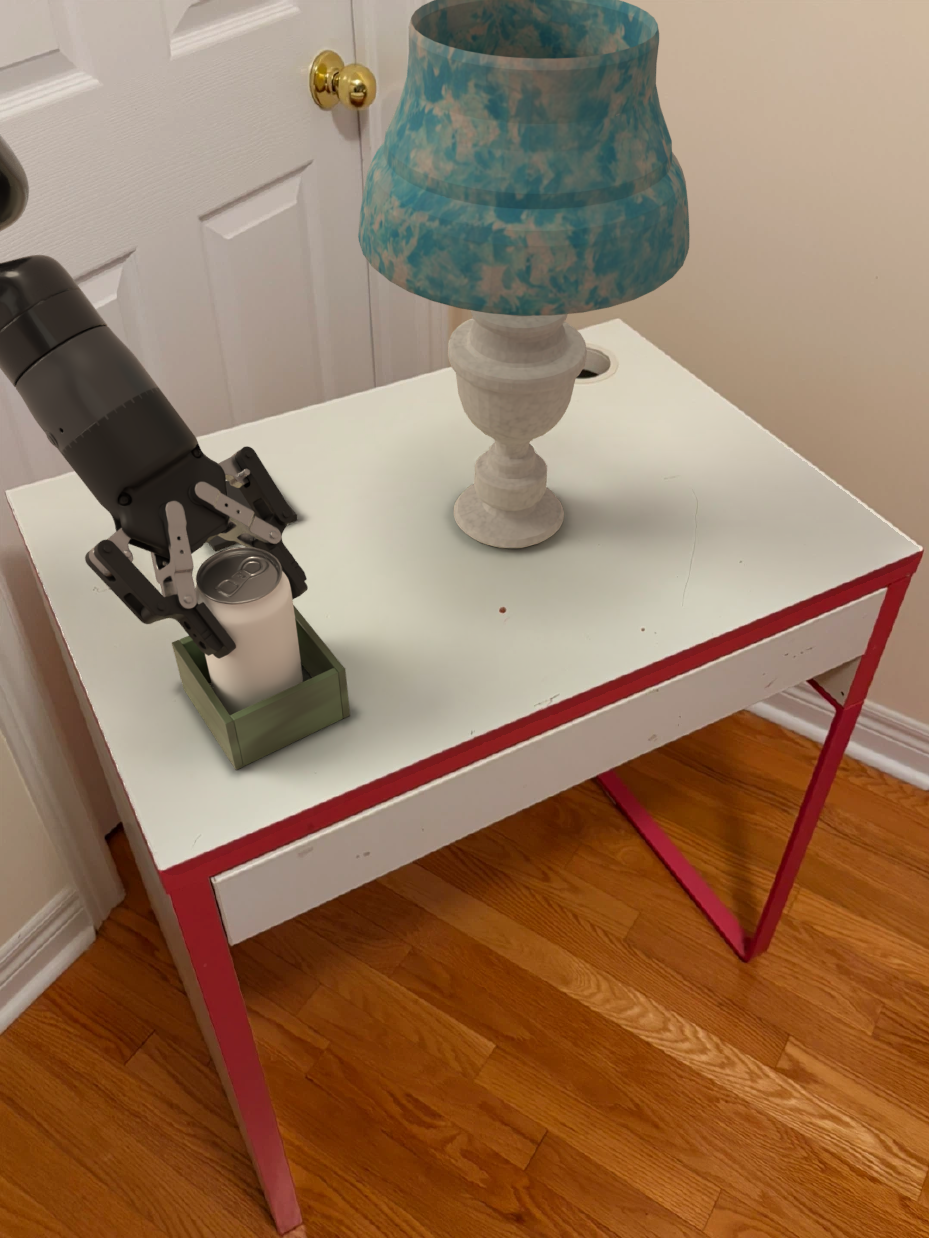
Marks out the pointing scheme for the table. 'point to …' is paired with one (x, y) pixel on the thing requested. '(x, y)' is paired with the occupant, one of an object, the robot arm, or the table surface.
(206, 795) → the table surface
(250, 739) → the caddy
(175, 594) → the robot arm
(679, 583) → the table surface
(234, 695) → the can
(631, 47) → the table lamp
